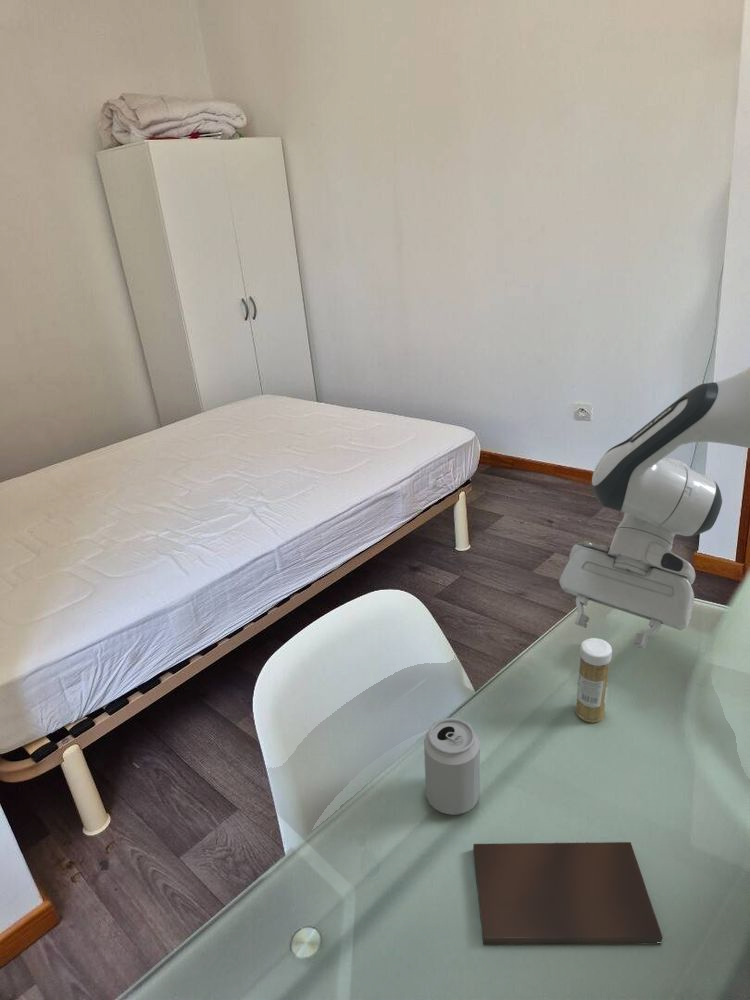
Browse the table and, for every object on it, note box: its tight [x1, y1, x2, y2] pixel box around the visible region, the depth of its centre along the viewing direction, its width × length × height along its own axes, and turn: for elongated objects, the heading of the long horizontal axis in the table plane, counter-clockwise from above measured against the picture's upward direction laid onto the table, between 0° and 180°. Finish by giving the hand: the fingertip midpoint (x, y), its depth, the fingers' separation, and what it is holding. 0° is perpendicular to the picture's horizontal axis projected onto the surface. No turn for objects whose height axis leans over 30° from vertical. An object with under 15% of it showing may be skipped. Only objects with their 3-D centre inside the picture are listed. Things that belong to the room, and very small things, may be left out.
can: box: [423, 717, 481, 816], centre depth 94 cm, size 8×8×12 cm
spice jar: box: [574, 637, 613, 724], centre depth 106 cm, size 5×5×13 cm
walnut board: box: [472, 841, 664, 945], centre depth 83 cm, size 20×12×1 cm, turn 88°
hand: (609, 636), depth 108 cm, fingers open, 8 cm apart
